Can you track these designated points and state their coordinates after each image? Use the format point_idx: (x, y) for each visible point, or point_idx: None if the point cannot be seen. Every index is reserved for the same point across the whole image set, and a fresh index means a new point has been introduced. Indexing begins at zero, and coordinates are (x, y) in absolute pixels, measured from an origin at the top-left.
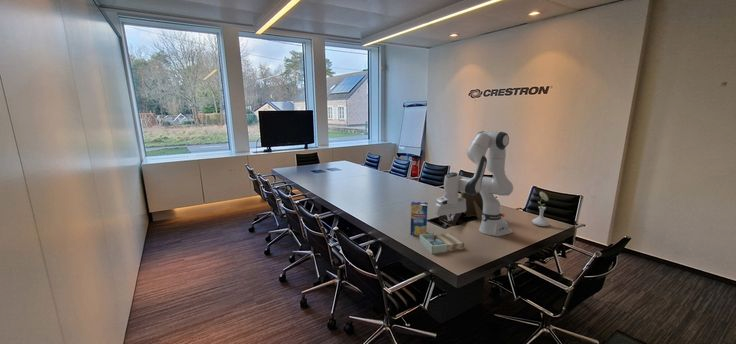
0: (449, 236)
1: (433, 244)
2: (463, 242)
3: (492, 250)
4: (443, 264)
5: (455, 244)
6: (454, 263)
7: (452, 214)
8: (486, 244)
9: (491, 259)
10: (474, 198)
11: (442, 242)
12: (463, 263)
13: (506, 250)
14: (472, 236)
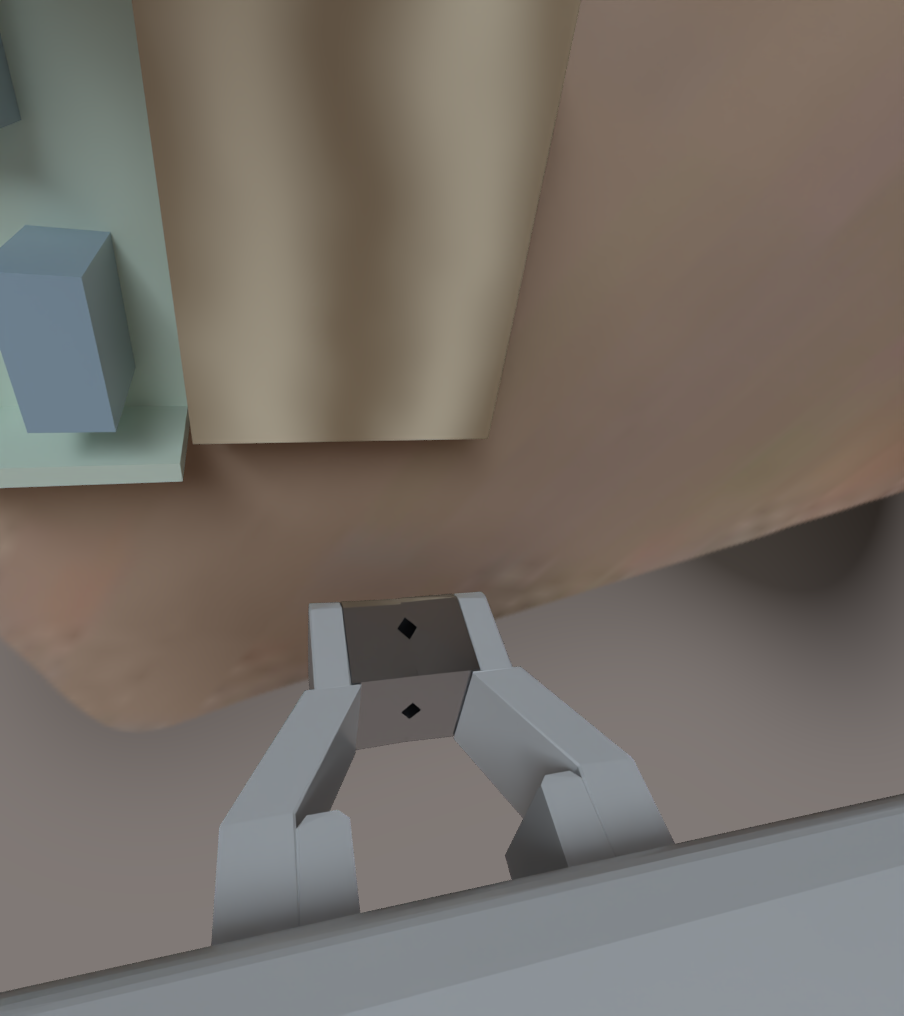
0: (441, 129)
1: (19, 119)
2: (489, 426)
3: (676, 493)
4: (22, 636)
5: (349, 438)
6: (163, 630)
7: (521, 845)
8: (757, 374)
9: (529, 608)
10: None
11: (112, 429)
12: (256, 636)
13: (760, 514)
14: (877, 82)
